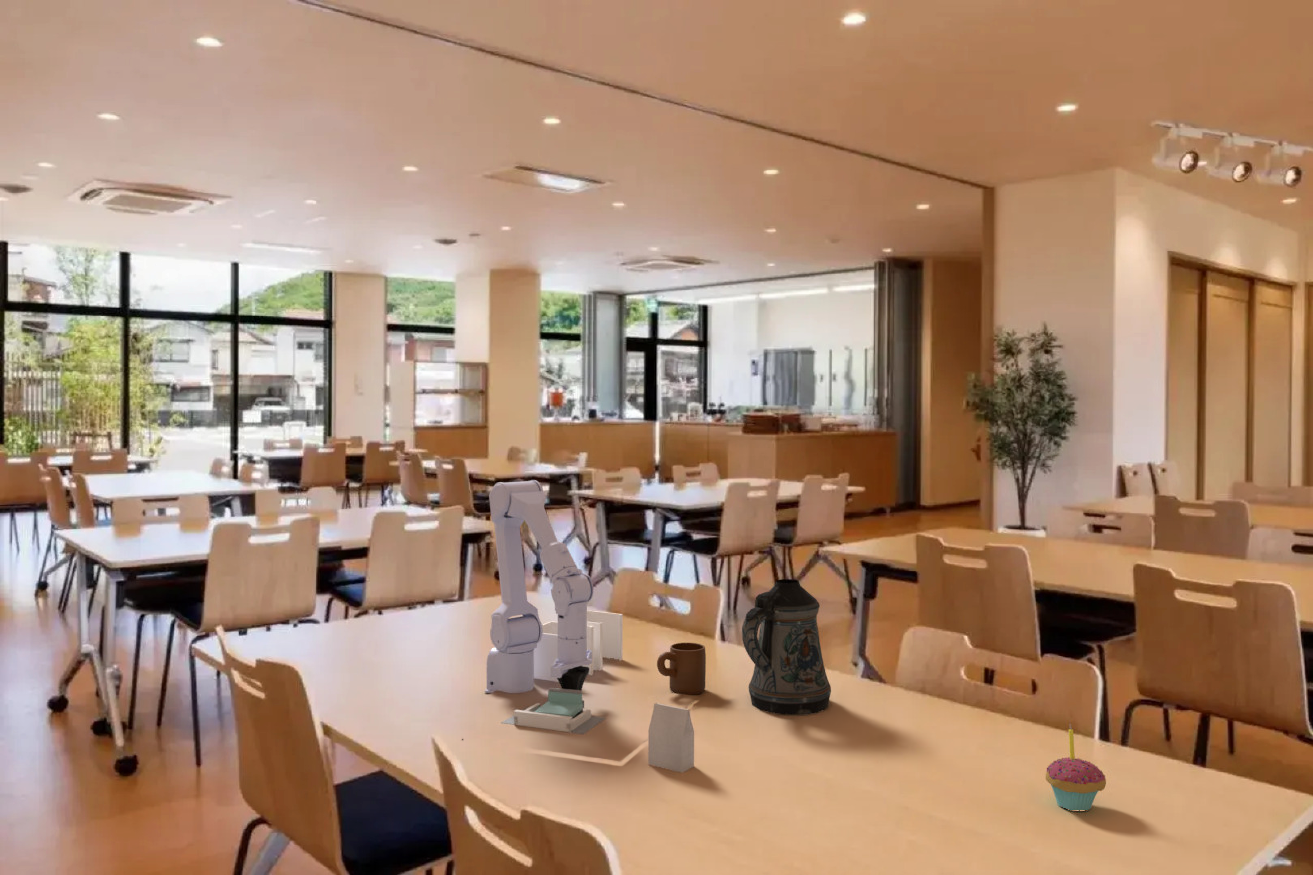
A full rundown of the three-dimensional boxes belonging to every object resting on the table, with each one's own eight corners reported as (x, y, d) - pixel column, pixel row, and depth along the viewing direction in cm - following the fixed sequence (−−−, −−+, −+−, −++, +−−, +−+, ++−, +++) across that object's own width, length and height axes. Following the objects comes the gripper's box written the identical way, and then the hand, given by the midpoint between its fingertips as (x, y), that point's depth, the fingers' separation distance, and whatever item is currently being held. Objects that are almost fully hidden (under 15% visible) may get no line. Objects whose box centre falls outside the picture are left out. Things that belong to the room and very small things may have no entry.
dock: (501, 726, 191) (501, 709, 191) (526, 711, 201) (526, 695, 200) (583, 737, 185) (583, 720, 185) (605, 721, 194) (606, 704, 194)
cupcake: (1035, 796, 159) (1036, 720, 159) (1087, 794, 160) (1089, 718, 160) (1061, 818, 151) (1063, 738, 150) (1116, 817, 152) (1118, 737, 151)
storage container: (581, 655, 245) (581, 609, 244) (622, 660, 240) (622, 614, 240) (524, 681, 222) (524, 631, 222) (568, 687, 218) (568, 636, 217)
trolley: (534, 723, 191) (534, 697, 191) (550, 710, 199) (550, 686, 199) (569, 726, 189) (569, 701, 189) (584, 713, 197) (584, 689, 197)
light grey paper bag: (682, 773, 168) (682, 713, 168) (648, 764, 172) (648, 706, 172) (693, 766, 171) (694, 707, 171) (660, 758, 175) (660, 700, 175)
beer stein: (839, 697, 211) (841, 577, 210) (813, 725, 193) (815, 593, 192) (763, 687, 218) (764, 571, 217) (731, 713, 200) (732, 586, 199)
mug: (669, 702, 207) (670, 656, 207) (645, 693, 213) (646, 649, 212) (712, 691, 215) (713, 647, 214) (688, 683, 220) (689, 640, 220)
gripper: (574, 646, 191) (574, 718, 192) (606, 630, 205) (605, 697, 205) (540, 643, 194) (540, 713, 194) (574, 627, 207) (574, 693, 208)
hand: (572, 705), depth 200 cm, fingers closed
